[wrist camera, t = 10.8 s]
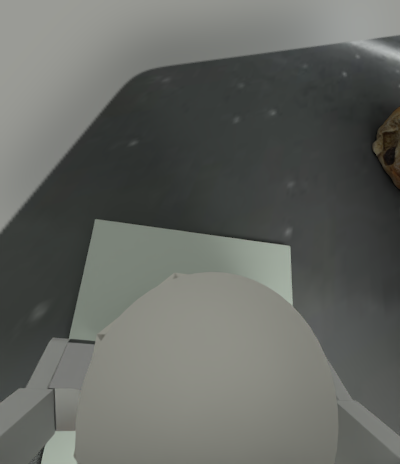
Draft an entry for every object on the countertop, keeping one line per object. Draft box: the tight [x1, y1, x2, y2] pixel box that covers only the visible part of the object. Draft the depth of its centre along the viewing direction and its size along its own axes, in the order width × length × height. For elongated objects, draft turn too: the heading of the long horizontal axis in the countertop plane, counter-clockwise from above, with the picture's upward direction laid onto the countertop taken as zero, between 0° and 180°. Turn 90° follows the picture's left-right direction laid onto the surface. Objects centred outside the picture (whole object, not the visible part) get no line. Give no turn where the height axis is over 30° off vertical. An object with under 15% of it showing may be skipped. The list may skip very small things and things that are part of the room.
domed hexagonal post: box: [73, 272, 339, 464], centre depth 10 cm, size 6×6×9 cm
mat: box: [41, 219, 293, 464], centre depth 17 cm, size 14×16×1 cm
